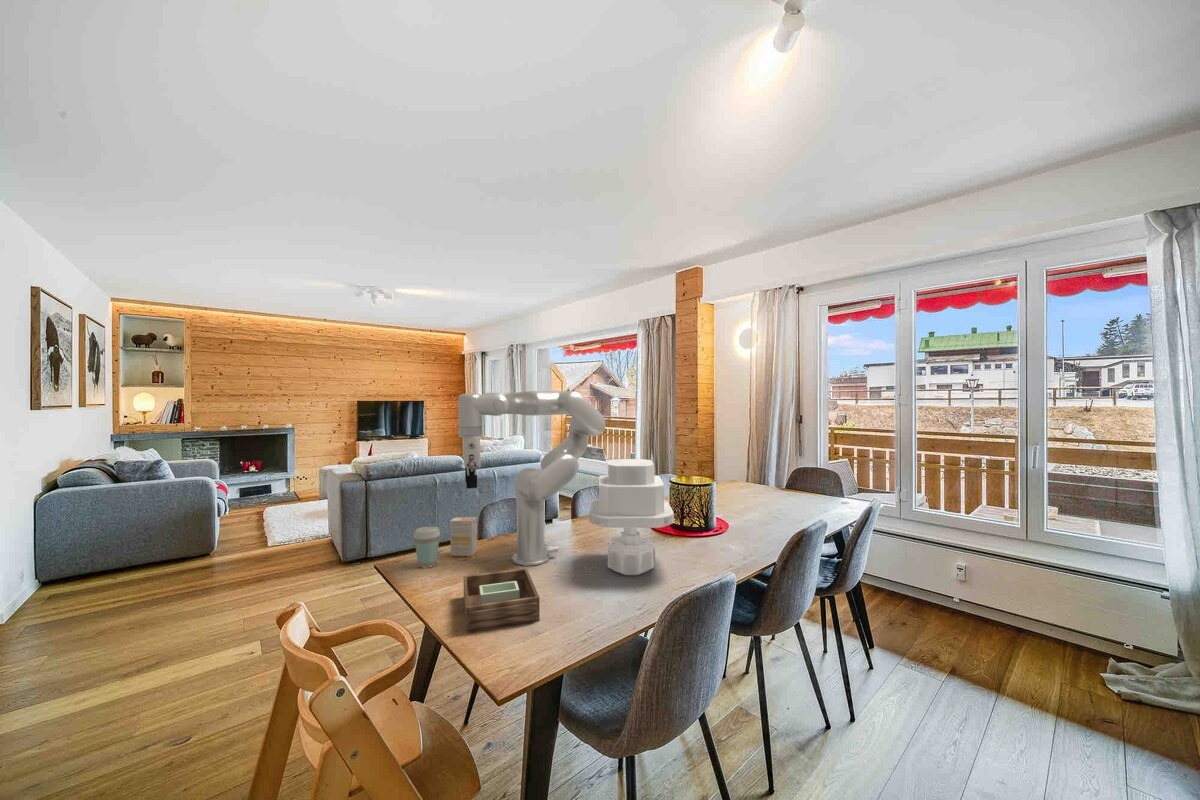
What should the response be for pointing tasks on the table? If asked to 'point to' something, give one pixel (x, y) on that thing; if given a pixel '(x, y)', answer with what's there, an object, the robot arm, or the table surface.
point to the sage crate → (498, 592)
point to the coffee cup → (427, 545)
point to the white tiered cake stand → (631, 512)
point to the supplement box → (463, 536)
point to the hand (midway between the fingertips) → (471, 484)
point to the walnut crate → (500, 611)
